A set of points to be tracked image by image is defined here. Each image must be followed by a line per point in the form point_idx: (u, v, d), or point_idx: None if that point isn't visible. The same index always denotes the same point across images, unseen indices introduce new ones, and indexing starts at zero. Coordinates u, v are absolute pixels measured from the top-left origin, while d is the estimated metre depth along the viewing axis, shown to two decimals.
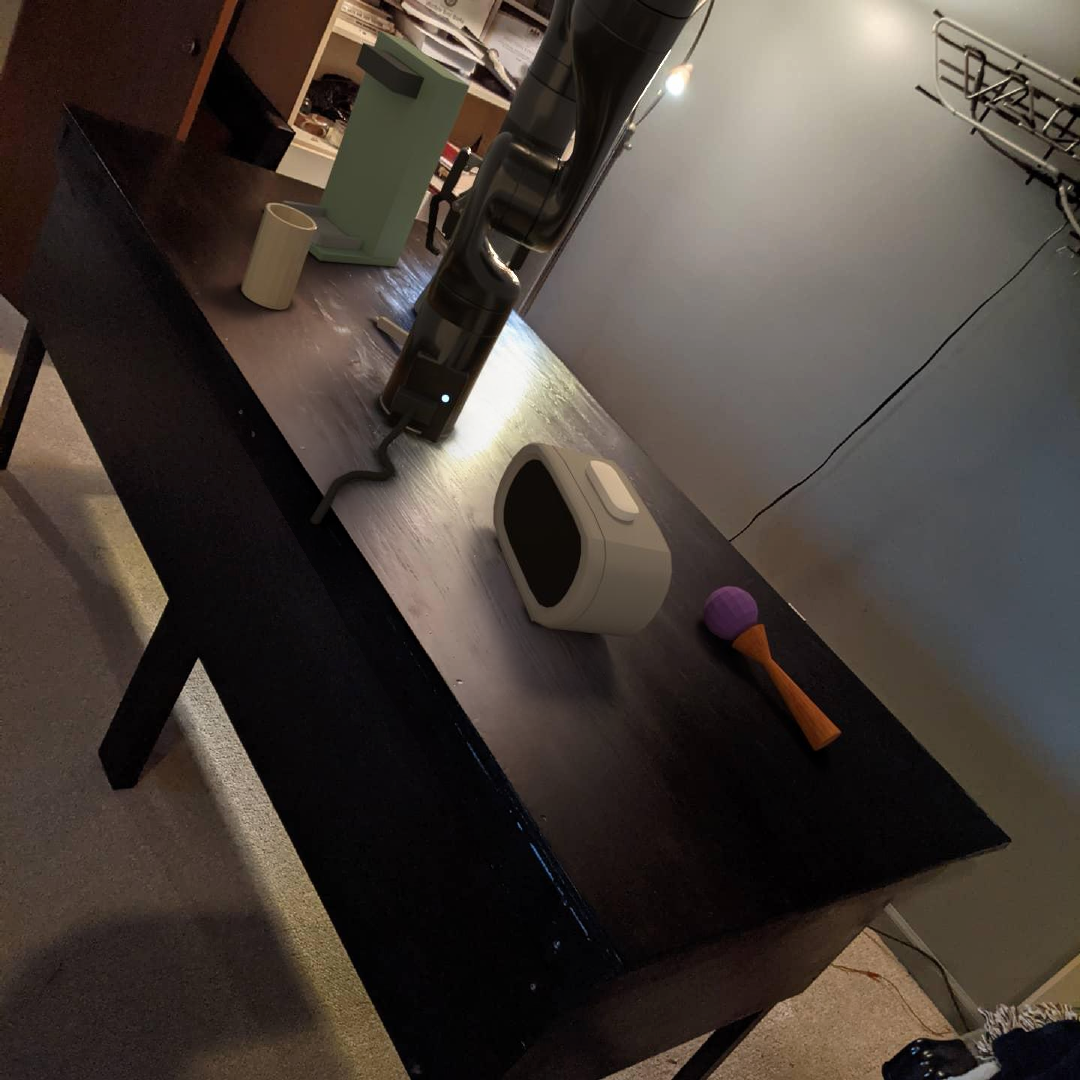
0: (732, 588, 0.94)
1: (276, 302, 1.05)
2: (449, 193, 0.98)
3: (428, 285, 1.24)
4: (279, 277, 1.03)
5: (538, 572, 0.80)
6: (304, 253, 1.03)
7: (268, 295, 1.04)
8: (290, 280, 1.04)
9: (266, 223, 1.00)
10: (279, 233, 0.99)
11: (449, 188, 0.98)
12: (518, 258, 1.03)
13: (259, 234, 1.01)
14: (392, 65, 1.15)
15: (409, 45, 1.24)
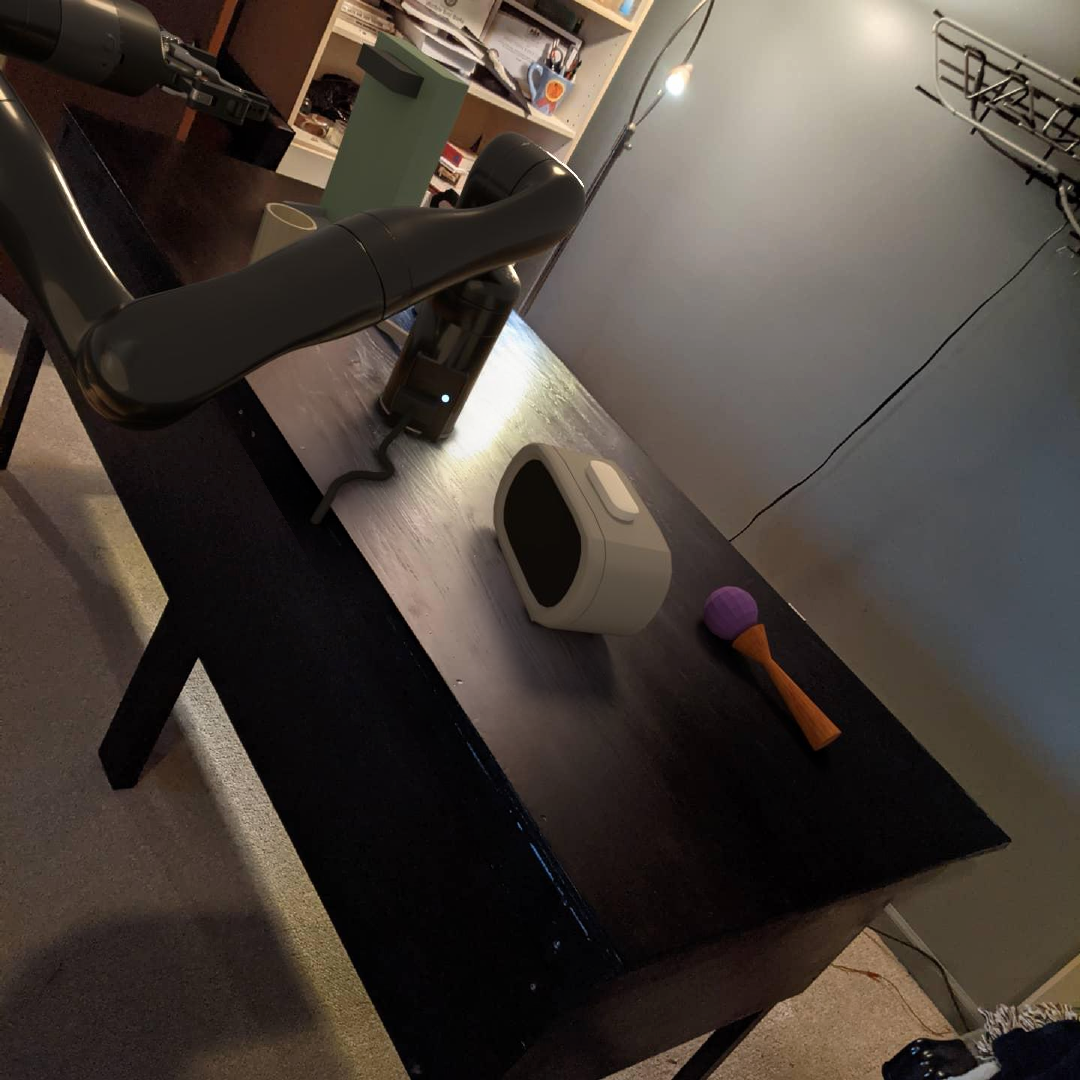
0: (732, 588, 0.94)
1: None
2: None
3: None
4: None
5: (539, 572, 0.80)
6: None
7: None
8: None
9: (266, 223, 1.00)
10: (279, 233, 0.99)
11: None
12: (245, 116, 0.82)
13: (259, 234, 1.01)
14: (392, 65, 1.15)
15: (409, 45, 1.24)
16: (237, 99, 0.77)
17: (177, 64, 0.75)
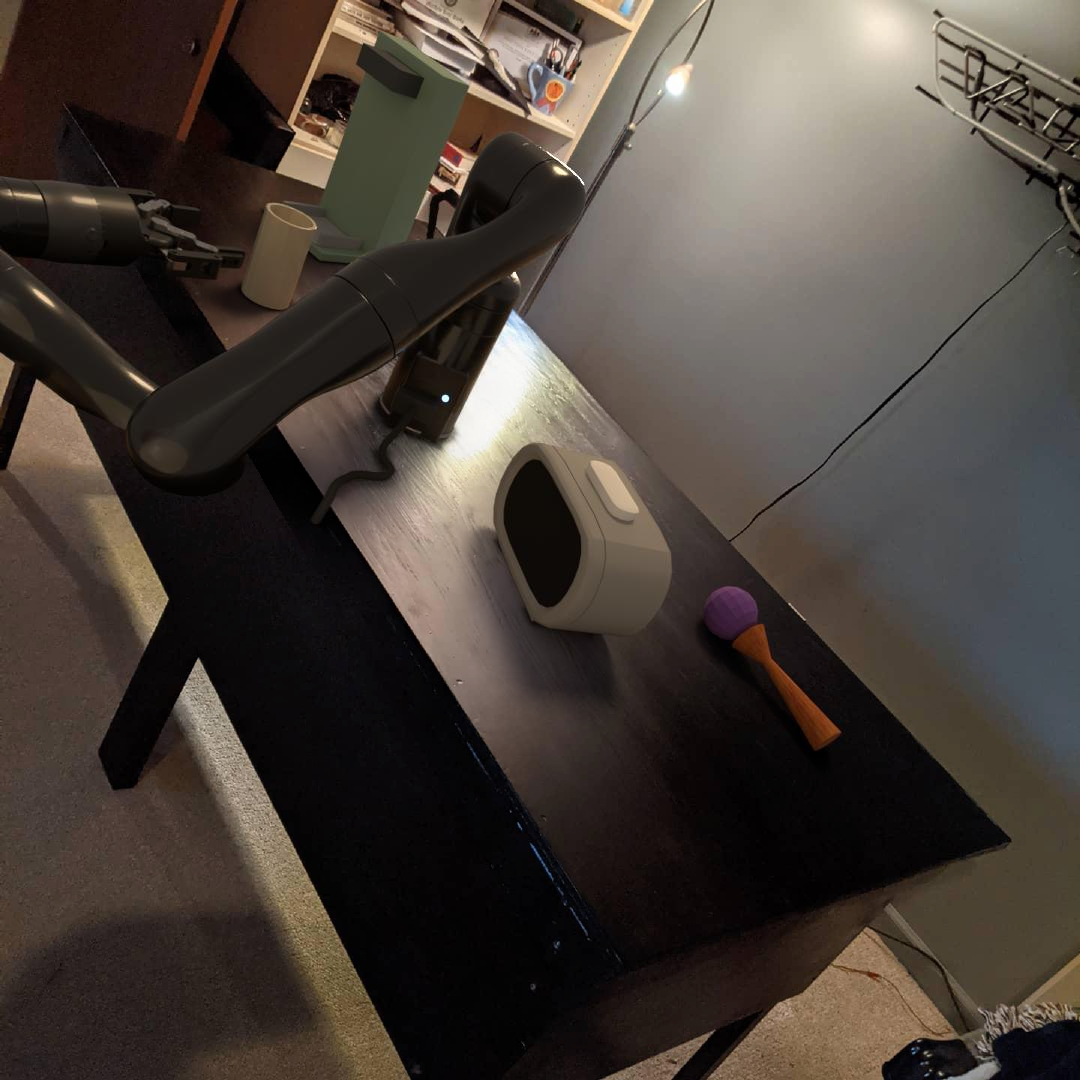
0: (732, 588, 0.94)
1: (276, 302, 1.05)
2: None
3: None
4: (279, 277, 1.03)
5: (539, 572, 0.80)
6: (304, 253, 1.03)
7: (268, 295, 1.04)
8: (290, 280, 1.04)
9: (266, 223, 1.00)
10: (279, 233, 0.99)
11: None
12: None
13: (259, 234, 1.01)
14: (392, 65, 1.15)
15: (409, 45, 1.24)
16: (209, 260, 0.88)
17: (156, 237, 0.86)
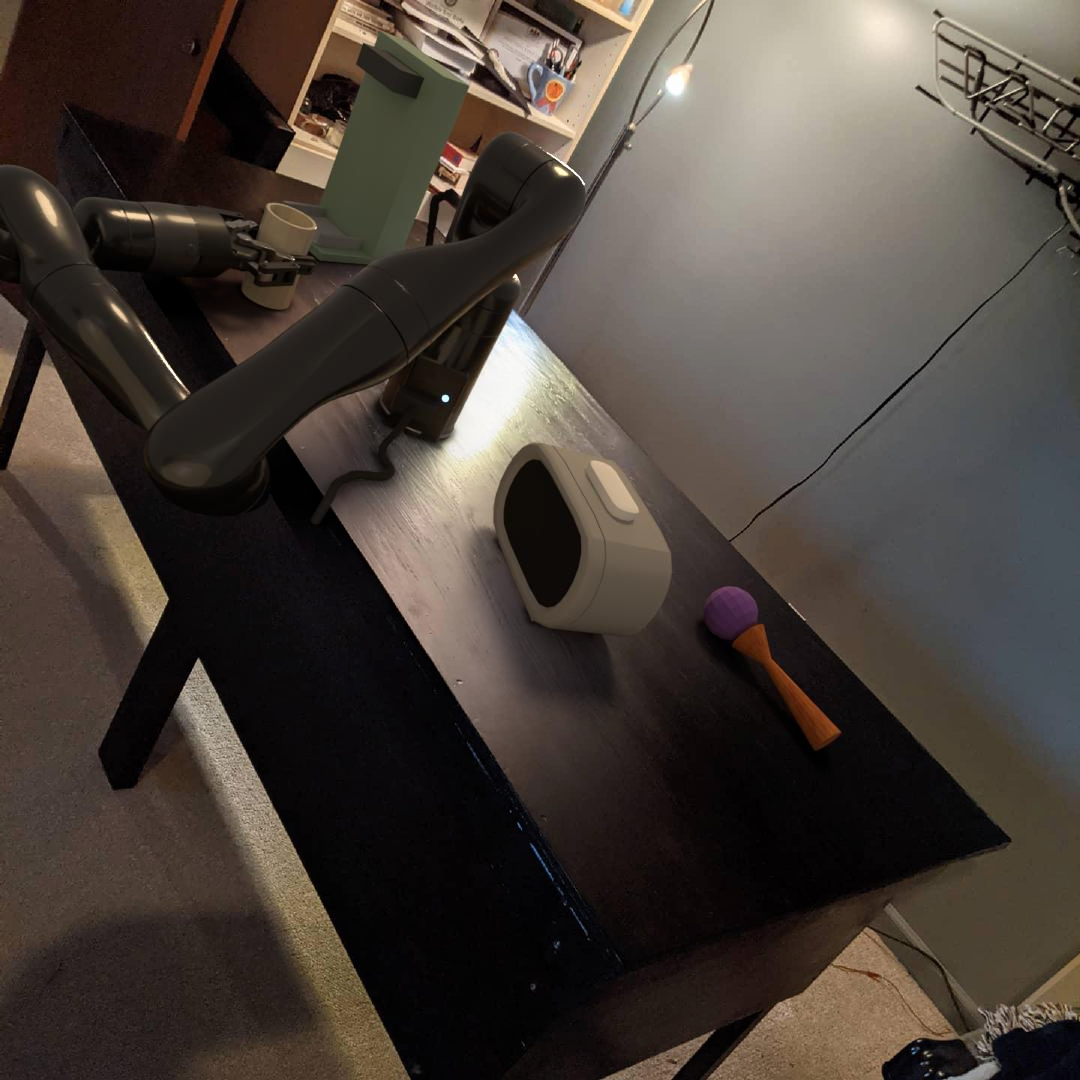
0: (732, 588, 0.94)
1: (276, 302, 1.05)
2: None
3: None
4: None
5: (539, 572, 0.80)
6: (304, 253, 1.03)
7: (268, 295, 1.04)
8: None
9: (266, 223, 1.00)
10: (279, 233, 0.99)
11: None
12: (297, 273, 1.03)
13: (259, 234, 1.01)
14: (392, 65, 1.15)
15: (409, 45, 1.24)
16: (290, 269, 0.98)
17: (242, 252, 0.95)
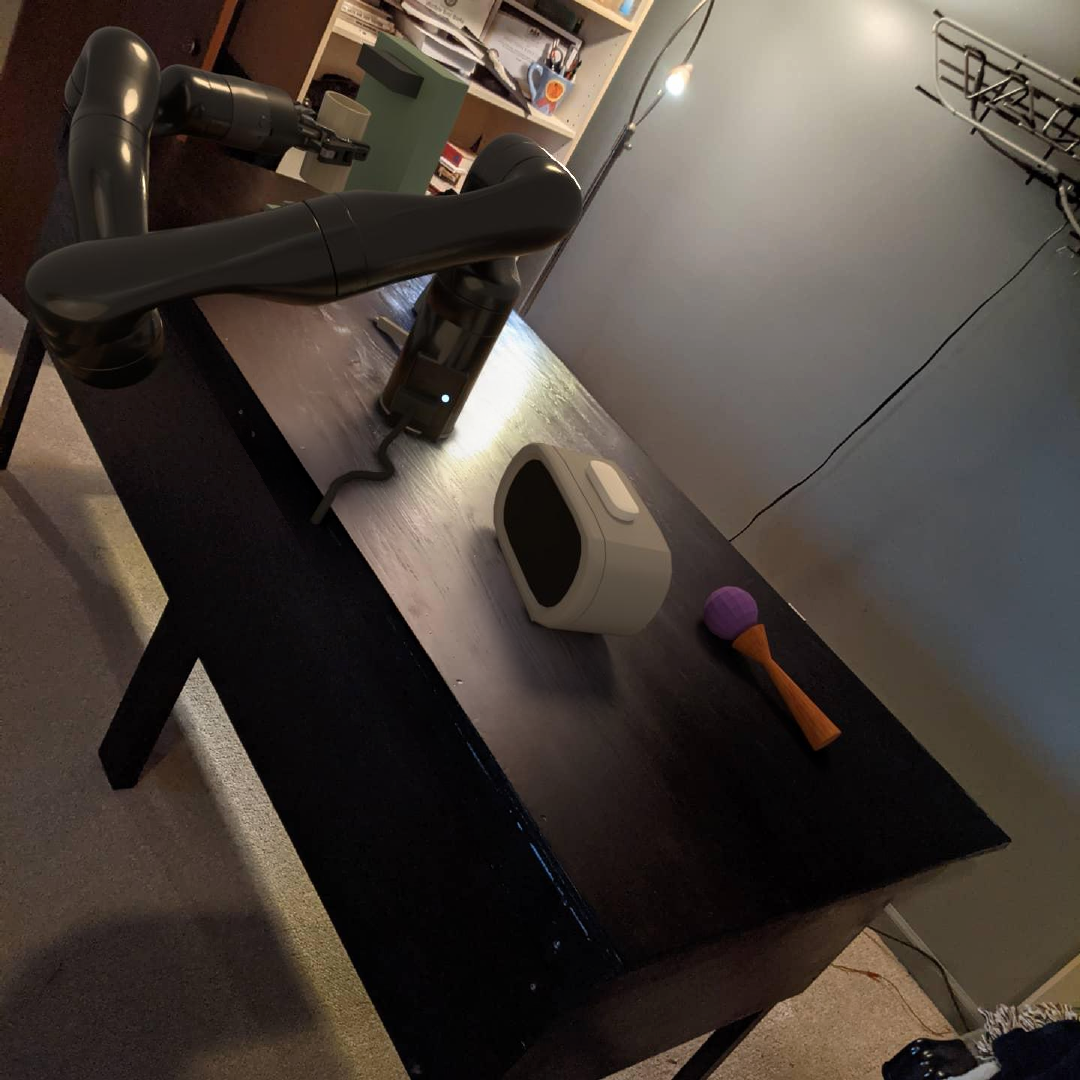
0: (732, 588, 0.94)
1: (332, 187, 1.12)
2: None
3: (428, 285, 1.24)
4: None
5: (539, 572, 0.80)
6: (359, 139, 1.10)
7: (325, 179, 1.11)
8: None
9: (326, 108, 1.07)
10: (338, 117, 1.07)
11: None
12: None
13: (318, 119, 1.08)
14: (392, 65, 1.15)
15: (409, 45, 1.24)
16: (349, 149, 1.06)
17: (307, 130, 1.03)
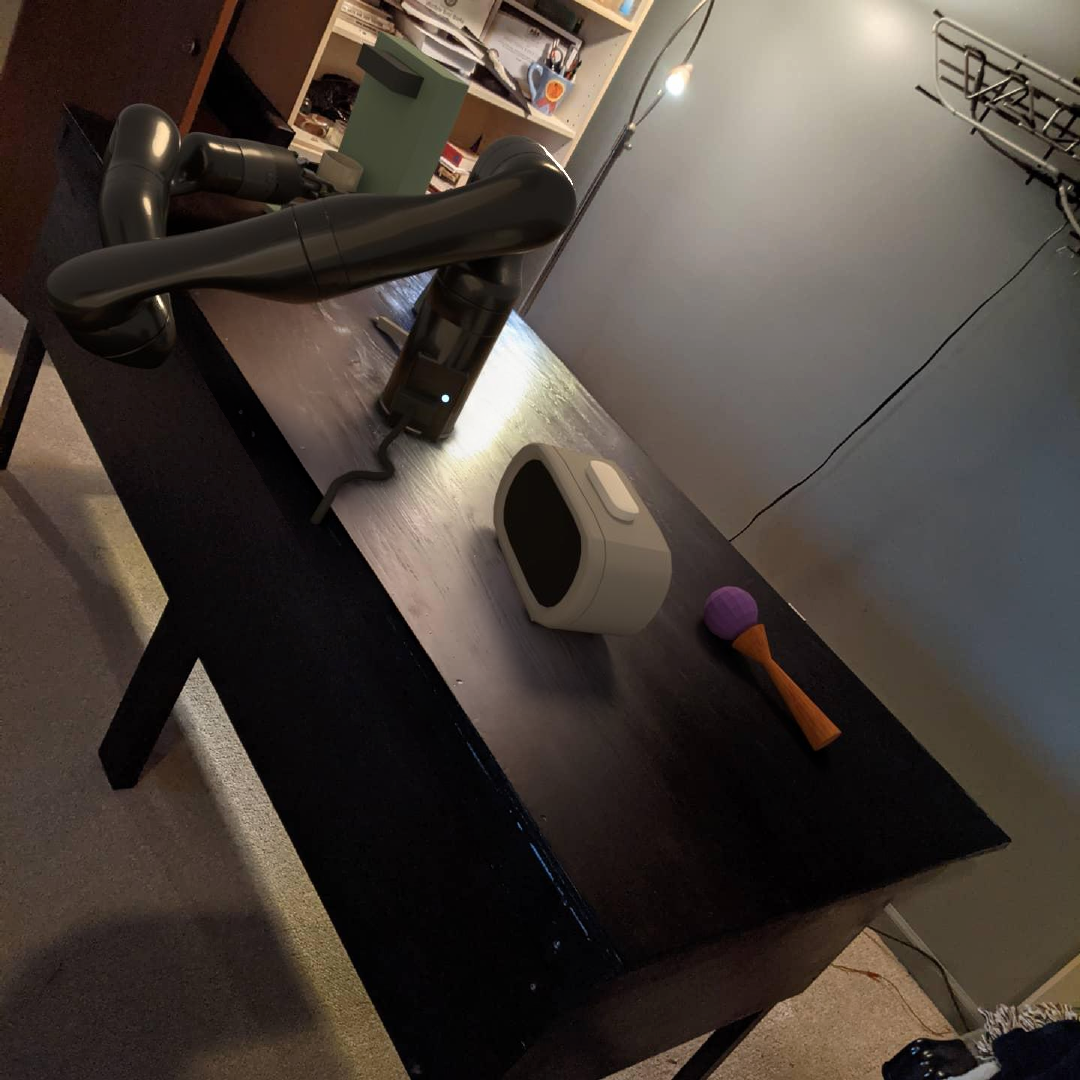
0: (732, 588, 0.94)
1: None
2: None
3: (428, 285, 1.24)
4: None
5: (539, 572, 0.80)
6: (353, 191, 1.25)
7: None
8: None
9: (323, 165, 1.22)
10: (334, 173, 1.22)
11: None
12: None
13: None
14: (392, 65, 1.15)
15: (409, 45, 1.24)
16: None
17: (308, 183, 1.17)
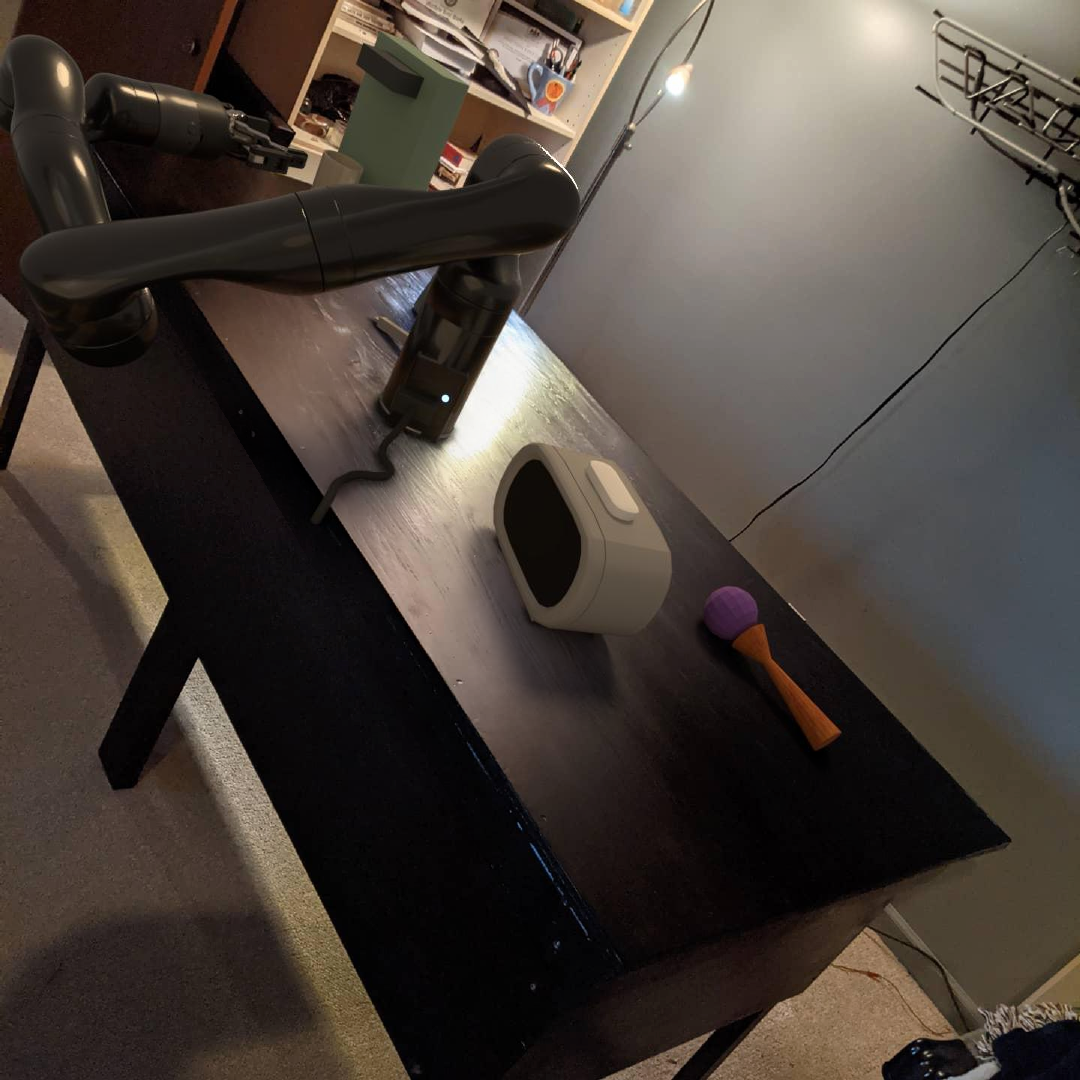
0: (732, 588, 0.94)
1: None
2: None
3: (428, 285, 1.24)
4: None
5: (539, 572, 0.80)
6: None
7: None
8: None
9: (323, 165, 1.22)
10: (334, 173, 1.22)
11: None
12: (290, 166, 1.12)
13: (317, 175, 1.23)
14: (392, 65, 1.15)
15: (409, 45, 1.24)
16: (282, 157, 1.07)
17: (239, 136, 1.05)
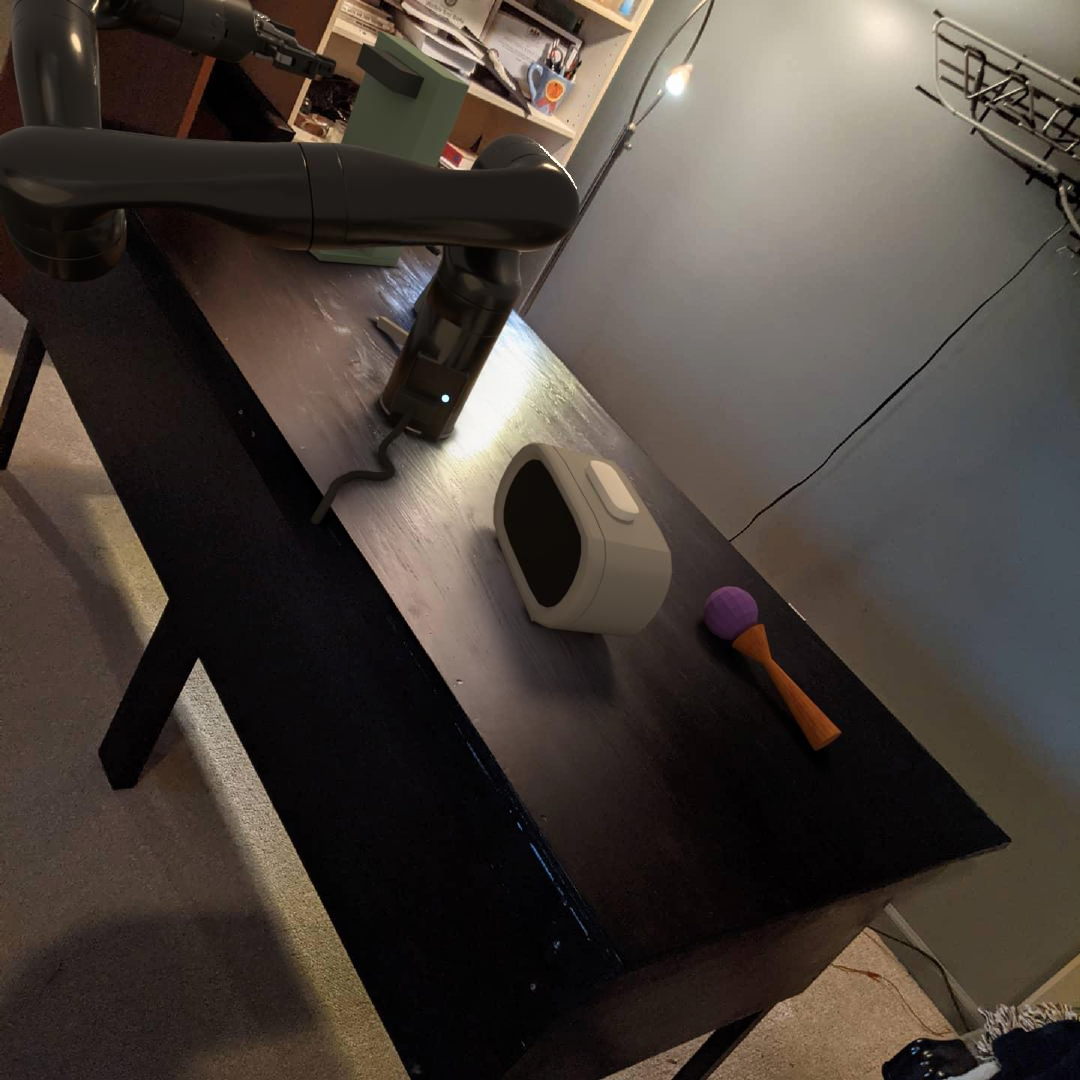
0: (732, 588, 0.94)
1: None
2: None
3: (428, 285, 1.24)
4: None
5: (539, 572, 0.80)
6: None
7: None
8: None
9: None
10: None
11: None
12: (317, 74, 1.06)
13: None
14: (392, 65, 1.15)
15: (409, 45, 1.24)
16: (310, 59, 1.01)
17: (265, 35, 0.99)
